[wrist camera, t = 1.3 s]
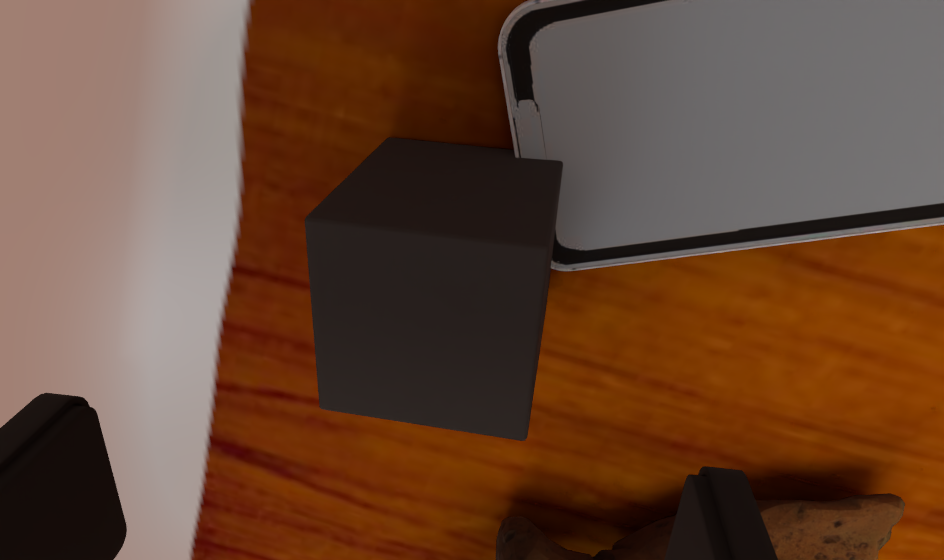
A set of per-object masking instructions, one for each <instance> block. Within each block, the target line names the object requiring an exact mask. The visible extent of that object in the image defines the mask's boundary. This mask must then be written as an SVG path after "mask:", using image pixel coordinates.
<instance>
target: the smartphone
mask: <svg viewBox="0 0 944 560" xmlns="http://www.w3.org/2000/svg"><path fill="white" fill-rule="evenodd" d="M506 26H507V27H506ZM505 28H506V29H505ZM498 55H499V61H500V67H501V73H502V79H503V85H504V91H505V97H506V103H507V109H508V115H509V121H510V127H511V133H512V140H513V146H514V152H515V157H517V158H518V157H519V158H530V159H543V160H558V161H562V162H563V170H562V178H561V187H560V195H559V203H558V211H557V220H556V228H555V236H554V244H553V252H552V261H551V268H552V269H555V270H559V271H576V270H584V269H592V268H600V267H608V266H616V265H624V264H632V263H640V262H648V261H656V260H664V259H672V258H680V257H688V256H696V255H704V254H712V253H720V252H728V251H736V250H744V249H752V248H760V247H768V246H776V245H784V244H792V243H800V242H808V241H816V240H824V239H832V238H840V237H848V236H856V235H864V234H872V233H880V232H888V231H896V230H904V229H912V228H920V227H928V226H936V225H944V0H528V1H526V2H524V3H522V4H520V5H519V6H518V7H516V8H515V9H514V10H513V11H512V12H511V13H510V14H509V16H508V17H507V19H506V20H505V22H504V24H503V27H502V29H501V31H500V35H499V39H498Z"/></svg>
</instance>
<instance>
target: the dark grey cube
mask: <svg viewBox="0 0 944 560" xmlns="http://www.w3.org/2000/svg"><path fill="white" fill-rule="evenodd" d="M562 170H563V162H562V161H558V160H543V159H530V158H519V157H518V158H517V157H515V152H514V150H509V149H499V148H489V147H479V146H470V145H460V144H450V143H440V142H430V141H420V140H410V139H400V138H390V137H389V138H387V139H386V140H385V141H384V142H383V143H382V144H381V145H380V146H379V147H378V148H377V149H376V150H375V151H373V152H372V153H371V154H370V155H369V156H368V157H367V158H366V159H365V160H364V161H363V162H362V163H361V164H360V165H359V166H358V167H357V168H356V169H355V170H354V171H353V172H352V173H351V174H350V175H349V176H348V177H347V178H346V179H345V180H344V181H343V182H342V183H341V184H340V185H338V186H337V187H336V188H335V189H334V190H333V191H332V192H331V193H330V194H329V195H328V196H327V197H326V198H325V199H324V200H323V201H322V202H321V203H320V204H319V205H318V206H317V207H316V208H315V209H314V210H313V211H312V212H311V213H310V214H309V215H308V216H307V217H306V218H305V229H306V242H307V254H308V267H309V279H310V292H311V304H312V317H313V329H314V342H315V354H316V367H317V379H318V392H319V404H320V408H321V409H324V410H331V411H337V412H343V413H350V414H356V415H362V416H369V417H375V418H381V419H388V420H394V421H400V422H407V423H413V424H419V425H426V426H432V427H438V428H445V429H451V430H457V431H464V432H470V433H476V434H483V435H489V436H495V437H502V438H508V439H514V440H521V441H524V440H525V439H526V438H527V435H528V428H529V421H530V414H531V407H532V400H533V394H534V387H535V380H536V373H537V366H538V360H539V353H540V346H541V339H542V332H543V325H544V319H545V312H546V304H547V296H548V287H549V279H550V271H551V261H552V252H553V244H554V236H555V228H556V220H557V211H558V203H559V195H560V187H561V178H562Z"/></svg>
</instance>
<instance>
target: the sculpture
mask: <svg viewBox="0 0 944 560" xmlns="http://www.w3.org/2000/svg"><path fill="white" fill-rule="evenodd" d="M756 503H757V505H758V508H759V511H760V513H761V516H762V518H763V521H764V524H765V526H766V529H767V532H768V534H769V537H770V540H771V542H772V545H773V548H774V550H775V553H776V556H777V558H778V560H877V559H878V551H879V550H880V549H881V548H882V547H883V546H884V545H885V543H886V542H887V541H888V540H889V539H890V536H891V529H892V527H893V526H894V525H895V524H896V523H897V522H898V521H899V520H900V518H901V517H902V515H903V511H904V506H905V503H904V502H903V500H902V499H901V497H899V496H896V495H893V494H873V495H855V496H851V497H847V498H843V499H840V500H834V501H822V502H820V501H808V500H757V501H756ZM675 518H676V515H674V516H671V517H668V518H664V519H661V520H657V521H655V522H653V523H651V524H649V525H647V526H645V527H643V528H642V529H640V530H638V531H636V532H634V533H632V534H630V535H629V536H627V537H625V538H623V539H621V540H619V541H617V542H616V543H615V544H614V545H613V548H612V550H601V551H599V552H598V553H597V554H596V555H595V556H594V557H591V556H590V555H589V554H584V553H579V552H575V551H572V550H567V549H565V548H563V547H561V546H559V545H557V544H556V543H554V542H552V541H551V540H549V539H548V538H547V537H546V536H545V535H544V533H543V532H542V531H541V530H539V529H538V528H537V527H536V526H535V525H534V524H533V523H532V522H531V521H530V520H529V519H527V518H525V517H522V516H519V517H508V518H506V519H504V520H503V521H502V523H501V526H500V528H499V531H498V535H497V540H496V560H664V559H665V555H666V552H667V548H668V544H669V540H670V537H671V533H672V529H673V525H674V522H675Z"/></svg>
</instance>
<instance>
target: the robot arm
mask: <svg viewBox="0 0 944 560" xmlns="http://www.w3.org/2000/svg"><path fill="white" fill-rule="evenodd" d="M126 531H127V529H126V522H125V519H124V515H123V511H122V508H121V503H120V500H119V496H118V492H117V488H116V484H115V480H114V477H113V473H112V469H111V465H110V461H109V457H108V454H107V450H106V446H105V442H104V438H103V435H102V431H101V427H100V423H99V419H98V415H97V413H96V411H95V409H93V408H92V407H90V406H89V404H88V402H87V401H86V400H85V399H84V398H83V397H78V396H69V395H61V394H52V393H44V394H41V395H39V396H37V397H36V398H34V399H33V400H32V401H31V402H30V403H29V404H28V405H26V406H25V407H24V408H23V409H22V410H21V411H20V412H18V413H17V414H16V415H15V416H14V417H13V418H12V419H10V420H9V421H8V422H7V423H6V424H5V425H3V426H2V427H1V428H0V560H113V559H114V558H115V557H116V555H117V554H118V552H119V551H120V549H121V548H122V546H123V543H124V541H125V537H126ZM664 560H778V558H777V556H776V553H775V550H774V548H773V545H772V542H771V540H770V537H769V534H768V532H767V529H766V526H765V524H764V521H763V518H762V516H761V513H760V511H759V508H758V505H757V503H756V500H755V497H754V495H753V492H752V489H751V487H750V484H749V481H748V479H747V477H746V475H745V473H744V472H743V471H742V470H733V469H724V468H715V467H706V466H704V467H702V468H701V469H700V472H699V474H698V475H688V476H687V478H686V481H685V484H684V488H683V492H682V496H681V499H680V503H679V507H678V511H677V514H676V518H675V522H674V525H673V529H672V533H671V537H670V540H669V544H668V548H667V552H666V555H665V559H664Z"/></svg>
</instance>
